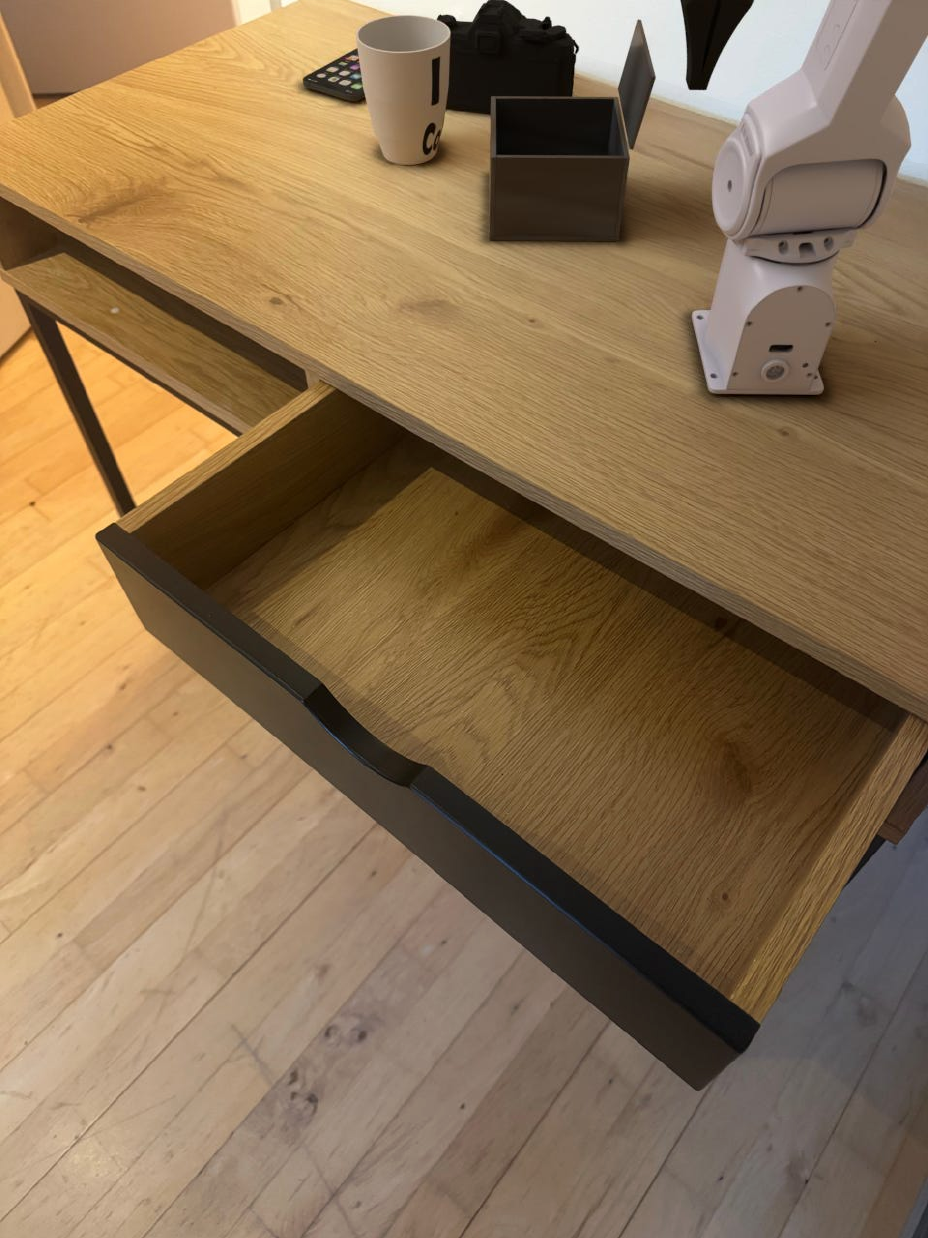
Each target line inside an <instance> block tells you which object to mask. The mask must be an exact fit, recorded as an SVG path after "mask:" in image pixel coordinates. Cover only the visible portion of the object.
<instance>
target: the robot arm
mask: <svg viewBox="0 0 928 1238" xmlns="http://www.w3.org/2000/svg"><path fill="white" fill-rule="evenodd" d="M754 3H755V0H680V6H681V12H682V18H683V25H684V32H685V34H684V35H685V45H686V73H685V82H686V85H687V89H688V90H689V91H707V90H708V86H709V84H710V80H711V78H712V75H713V74H714V70H715V68H716V66H717V64H718V62H719V59H720V57H721V55H722V53H723V52H724V49H725V48H726V46H727V44H728V42H729V41H730V38H731V37H732V35H733V34H734V32H735V30H736V29H737V28H738V26H739V24H740V23H741V21H742V20H743V18H744V17H745V16H746V14H747V13H748V12H749V11H750V10H751V8H752V7H753V4H754ZM927 38H928V0H829V3H828V5H827V8H826V10H825V12H824V15H823V17H822V19H821V21H820V23H819V26H818V29H817V30H816V33H815V34H814V38H813V39H812V42H811V45H810V46H809V49H808V51H807V54H806V56H805V58H804V59H803V62H802V66H801V67H800V68H799V69H798V70H797V71H795V72H794V73H793V74H791V75H790V76H788V77H786V78H785V79H783V80H782V81H780V82H778V83H776V84H775V85H773V86H772V87H770V88H769V89H767V90H765V91H764V92H762V93H760V94H759V95H758V96H756V97H755V98H753V99H751V100H750V101H749V103H747V105H746V108H745V111H744V113H743V115H742V117H741V119H740V121H739V123H738V126H736V128H735V129H734V130H733V131H732V132H731V133H730V134H728V137H727V138H726V140H725V142H724V143H723V144H722V146H721V147H720V149H719V150H718V151H719V152H718V154H717V156H716V159H715V163H714V166H713V172H712V173H713V174H712V181H711V182H712V183H711V204H712V210H713V216H714V219H715V222H716V225H717V226H718V228H719V229H720V230H721V231H722V233H723V235H724V236H725V237H726V238H727V240H726V244H725V248H724V252H723V256H722V261H721V264H720V269H719V272H718V276H717V281H716V285H715V289H714V293H713V296H712V297H713V298H712V301H711V306H710V309H696V310H694V311H693V312H692V314H691V321H692V325H693V329H694V333H695V337H696V343H697V347H698V351H699V356H700V359H701V364H702V369H703V372H704V378H705V381H706V386H707V390H708V392H710V393H711V394H717V395H809V396H810V395H812V396H813V395H814V396H818V395H821V394H822V393H823V391H824V389H825V386H824V382H823V380H822V377H821V374H820V372H819V366H820V364H821V361H822V359H823V356H824V353H825V351H826V348H827V345H828V342H829V340H830V337H831V334H832V332H833V329H834V326H835V323H836V319H837V305H836V300H835V297H834V292H833V273H834V268H835V266H836V263H837V259H838V257H839V254H840V251H841V250H842V249H845V248H851V247H853V245H854V242H855V239H856V237H857V233H858V231H859V230H865V229H868V228H870V227H872V226H873V225H874V224H875V223H876V222H877V221H878V220H879V219H880V218H881V216H882V215H883V213H884V211H885V209H886V208H887V206H888V205H889V203H890V201H891V198H892V196H893V193H894V190H895V187H896V183H897V179H898V174H899V171H900V169H901V165H902V163H903V162H904V159H905V158H906V156H907V155H908V153H909V151H910V149H911V148H912V138H911V130H910V123H909V119H908V116H907V114H906V110H905V109H904V107H903V105H902V102H901V101H900V100H899V98H898V96H897V95H896V93H897V92H898V90H899V88H900V86H901V85H902V83H903V81H904V79H905V77H906V75H907V74H908V72H909V71H910V68H911V67H912V65H913V63H914V61H915V59H916V58H917V56H918V54H919V53H920V51H921V49H922V47H923V45H924V44H925V41H926V39H927Z"/></svg>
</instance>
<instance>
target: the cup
mask: <svg viewBox="0 0 928 1238" xmlns="http://www.w3.org/2000/svg"><path fill="white" fill-rule="evenodd" d="M355 40H356V48H358V55H359V62H360V69H361V76H362V83H363V89H364V93H365V97H364V98H365V101H366V106H367V109H368V113H369V117H370V121H371V126H372V129H373V132H374V134H375V137H376V139H377V142H378V145H379V148H380V150H381V153H382V155H383V158H385V159H386V160H387V161H388V162H391V163H393V164H396V165H401V166H402V165H403V166H413V165H420V164H423V163H426V162H428V161H430V160H432V159H433V158H434V157H435V156H436V155H437V151H438V147H439V144H440V140H441V135H442V131H443V128H444V123H445V115H446V109H447V108H446V101H447V94H448V86H449V60H450V29H449V28H448V26H447V25H445V24H444V23H442V22H440V21H438V20H437V19H436V18H431V17H428V16H422V15H413V14H405V15H404V14H400V15H399V14H398V15H390V16H382V17H379V18H376V19H375V18H374V19H372V20H370V21H368V22H366V23H364V24H362V25H361V26H360V27H358V28H357V30H356V32H355Z"/></svg>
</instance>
